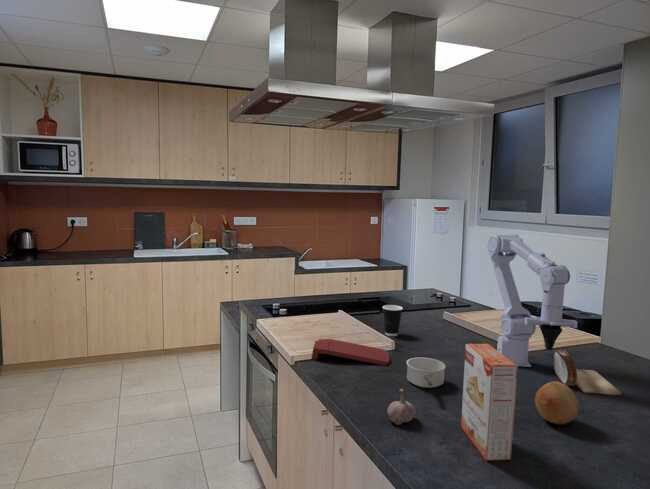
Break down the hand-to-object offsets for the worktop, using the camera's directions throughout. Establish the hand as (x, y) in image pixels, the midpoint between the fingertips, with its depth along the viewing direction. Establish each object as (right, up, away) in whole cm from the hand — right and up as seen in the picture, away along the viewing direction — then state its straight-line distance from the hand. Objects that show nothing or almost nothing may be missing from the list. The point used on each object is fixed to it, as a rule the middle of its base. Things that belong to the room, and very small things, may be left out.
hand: (548, 349), depth 141 cm
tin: (+5, -10, 0) cm, 11 cm away
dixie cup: (-42, -4, +42) cm, 60 cm away
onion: (-11, -12, -27) cm, 31 cm away
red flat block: (-60, -7, +15) cm, 62 cm away
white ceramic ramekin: (-39, -10, -9) cm, 41 cm away
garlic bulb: (-50, -11, -28) cm, 58 cm away
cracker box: (-33, -13, -38) cm, 52 cm away
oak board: (+12, -10, 0) cm, 16 cm away
